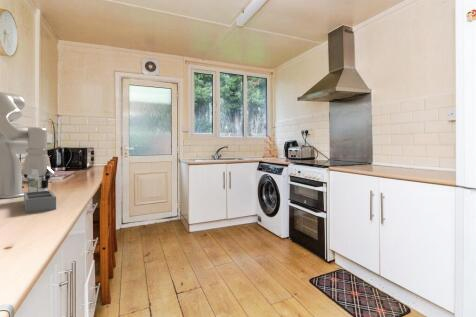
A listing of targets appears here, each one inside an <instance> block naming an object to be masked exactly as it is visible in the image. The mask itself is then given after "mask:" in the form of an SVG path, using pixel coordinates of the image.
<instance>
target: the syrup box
mask: <svg viewBox="0 0 476 317" xmlns="http://www.w3.org/2000/svg"><path fill="white" fill-rule="evenodd" d="M42 181H43V178H42V176H41V175H39V170H38V169H34V170H33V169H32V174H31V175H28V180H27V188H28V189H27V192H37V191H48V188H49V187H48V188H44V189H43V188H42Z"/></svg>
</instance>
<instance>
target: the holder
mask: <svg viewBox="0 0 476 317" xmlns="http://www.w3.org/2000/svg"><path fill="white" fill-rule="evenodd" d="M23 207H24V210H25V214H29V213H37V212H44V211H45V212H46V211H52V210H57V196H56V195H55V193H54V192H53V191H52V190H48V191H37V192H28V191H27V192H26V193H24V196H23Z"/></svg>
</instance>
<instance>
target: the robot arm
mask: <svg viewBox="0 0 476 317" xmlns="http://www.w3.org/2000/svg"><path fill="white" fill-rule="evenodd" d="M25 106H26V101H25V100H24V98H23V97H22V96H20V95H19V94H15V93H8V92H5V91H4V92H3V91H0V199H12V198H19V197H24V193H26V192H25V191H23V177H24V178H25V180H26V181H28V175H31V174H32V169H33V170H34V169H38V170H39V175H41V176H42V178H43V181H42V188H43V189H44V188H49V180H50V179H51V178H52V177H53V176H54V175H55V172H54V171H53V170H52V169H51V162H50V157H49V155H48V131H47V128H45V127H38V126H24V125H22V124H20V123H16V122H15V121H18V120H19V119H20V118H21V117H22V116H23V115H22V114H23V113H22V111H21V110H23V109H24V108H25ZM18 155H25V157H24V162H23V163H24V164H23V169H22V162H21V160H20V158H19V157H18ZM22 175H23V176H22Z"/></svg>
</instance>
